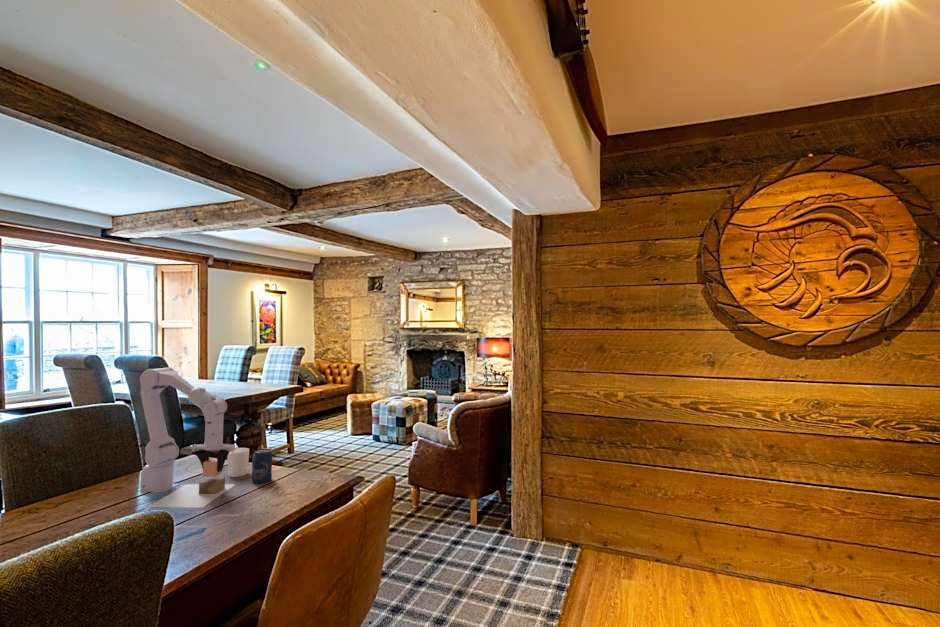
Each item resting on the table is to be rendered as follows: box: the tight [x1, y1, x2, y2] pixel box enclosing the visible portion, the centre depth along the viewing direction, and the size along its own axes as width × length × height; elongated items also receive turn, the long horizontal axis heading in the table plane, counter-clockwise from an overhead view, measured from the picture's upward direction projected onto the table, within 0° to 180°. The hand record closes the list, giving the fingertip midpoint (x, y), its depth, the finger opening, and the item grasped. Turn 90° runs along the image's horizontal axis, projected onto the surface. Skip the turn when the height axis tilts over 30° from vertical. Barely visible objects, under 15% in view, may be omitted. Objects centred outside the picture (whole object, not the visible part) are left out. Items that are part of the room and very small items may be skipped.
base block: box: [198, 476, 226, 494], centre depth 162 cm, size 6×6×4 cm
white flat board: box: [147, 483, 237, 509], centre depth 158 cm, size 18×22×1 cm
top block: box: [202, 458, 223, 477], centre depth 163 cm, size 4×4×5 cm
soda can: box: [251, 448, 273, 485], centre depth 174 cm, size 7×7×12 cm
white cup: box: [226, 447, 250, 478], centre depth 181 cm, size 8×8×10 cm
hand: (212, 471), depth 163 cm, fingers closed on top block, 4 cm apart
